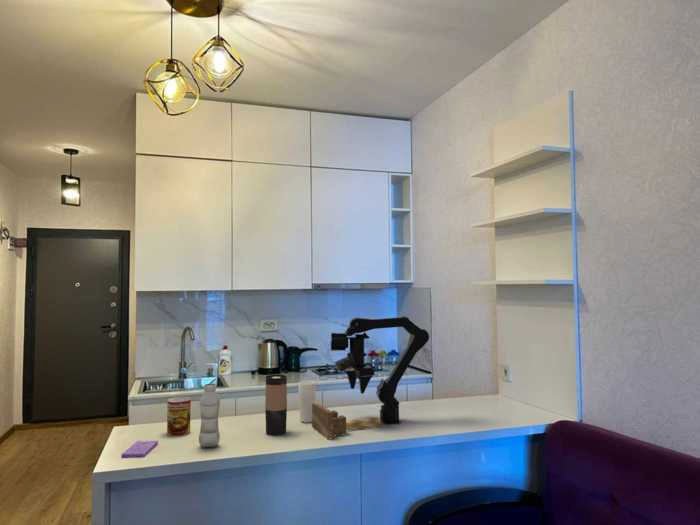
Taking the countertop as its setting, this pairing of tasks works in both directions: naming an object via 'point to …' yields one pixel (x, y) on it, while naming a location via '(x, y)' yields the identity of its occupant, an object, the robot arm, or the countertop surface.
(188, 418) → the canned food
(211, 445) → the plastic bottle
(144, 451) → the sponges
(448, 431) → the countertop surface
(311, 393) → the white cylinder
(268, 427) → the travel mug
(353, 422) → the hammer
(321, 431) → the walnut box
